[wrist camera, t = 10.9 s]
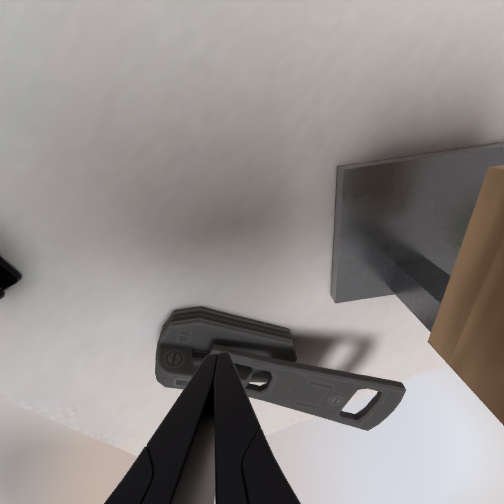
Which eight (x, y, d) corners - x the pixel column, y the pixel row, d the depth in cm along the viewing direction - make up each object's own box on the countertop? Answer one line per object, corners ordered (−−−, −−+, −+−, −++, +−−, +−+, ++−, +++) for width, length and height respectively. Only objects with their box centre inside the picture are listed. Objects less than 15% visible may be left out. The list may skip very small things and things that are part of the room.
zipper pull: (371, 435, 28) (138, 422, 22) (346, 380, 33) (157, 359, 28) (418, 388, 24) (148, 359, 18) (380, 334, 29) (167, 300, 24)
